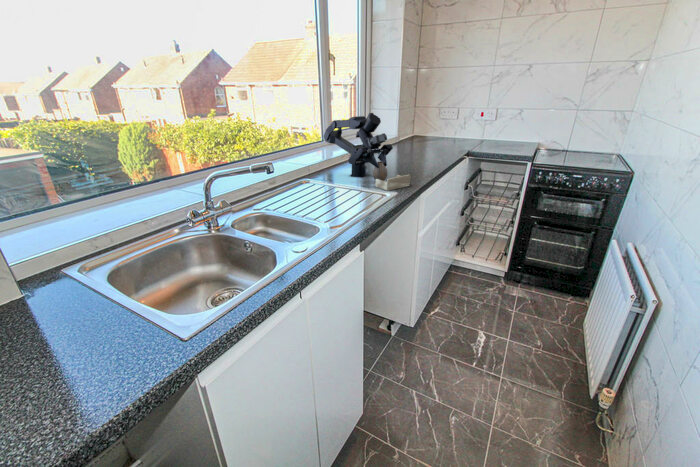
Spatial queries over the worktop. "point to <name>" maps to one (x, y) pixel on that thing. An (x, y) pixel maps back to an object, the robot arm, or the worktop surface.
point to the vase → (380, 172)
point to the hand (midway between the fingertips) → (382, 166)
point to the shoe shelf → (393, 182)
